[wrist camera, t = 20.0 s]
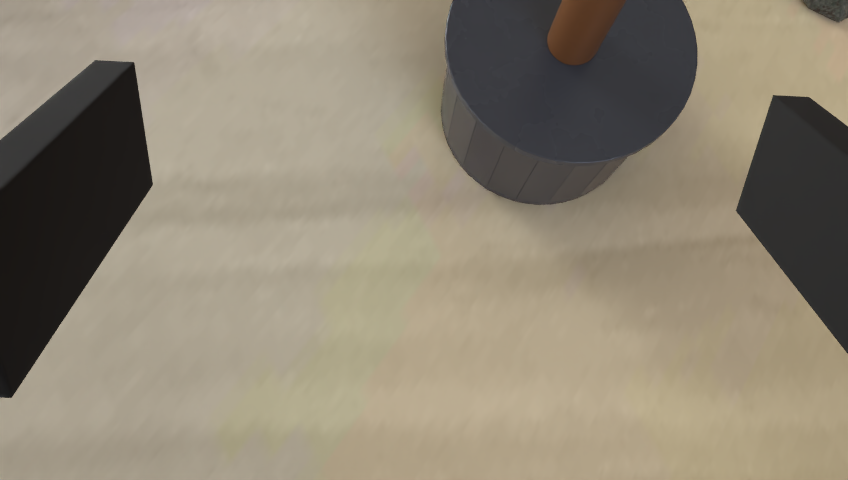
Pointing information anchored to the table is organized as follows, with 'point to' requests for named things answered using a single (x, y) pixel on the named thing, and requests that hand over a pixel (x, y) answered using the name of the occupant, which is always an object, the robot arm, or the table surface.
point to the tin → (512, 161)
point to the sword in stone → (829, 8)
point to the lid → (572, 73)
